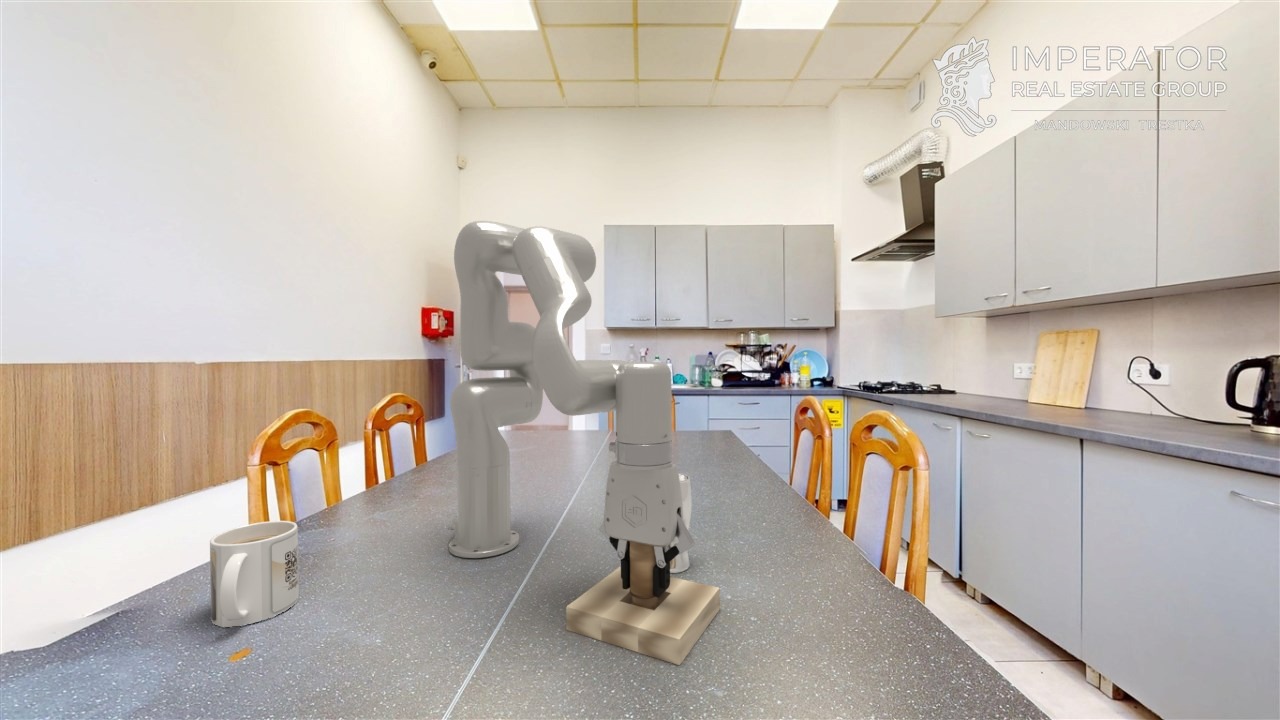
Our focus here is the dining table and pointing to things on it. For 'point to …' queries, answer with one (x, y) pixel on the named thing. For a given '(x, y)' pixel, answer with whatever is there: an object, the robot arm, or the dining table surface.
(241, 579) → the mug
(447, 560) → the dining table surface
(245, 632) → the dining table surface
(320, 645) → the dining table surface
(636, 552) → the peg
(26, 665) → the dining table surface
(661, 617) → the board
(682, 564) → the beer glass
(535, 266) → the robot arm
